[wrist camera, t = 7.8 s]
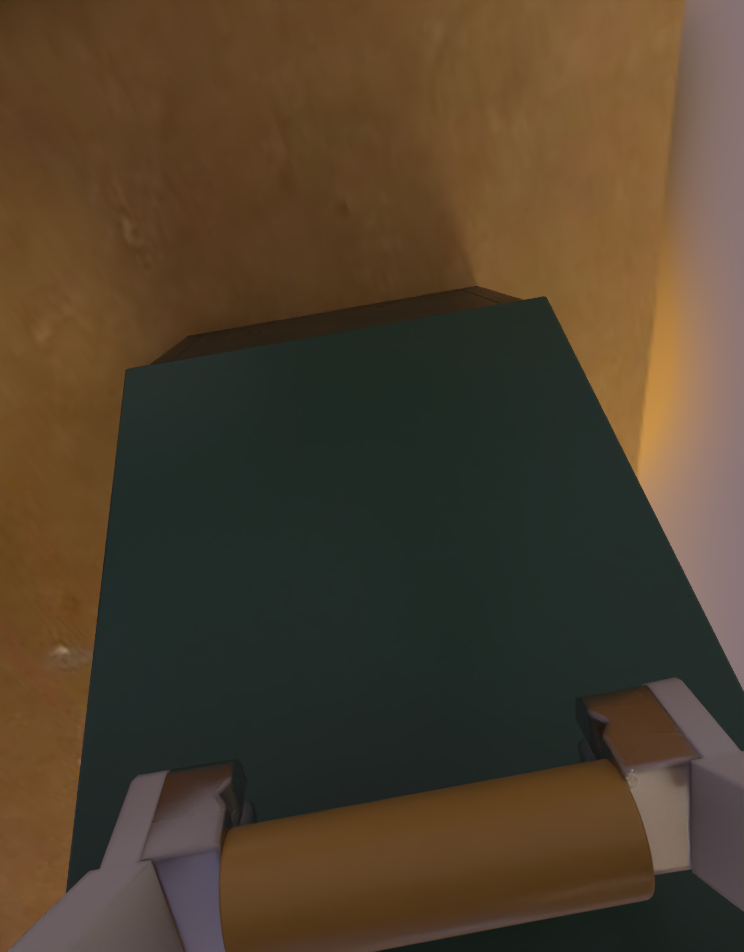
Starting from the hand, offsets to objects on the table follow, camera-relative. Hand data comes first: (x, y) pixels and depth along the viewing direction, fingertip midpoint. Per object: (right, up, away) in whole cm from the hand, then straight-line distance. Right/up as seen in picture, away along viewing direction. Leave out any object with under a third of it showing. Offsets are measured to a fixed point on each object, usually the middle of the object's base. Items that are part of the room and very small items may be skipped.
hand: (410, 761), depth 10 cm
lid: (0, +2, +5) cm, 6 cm away
